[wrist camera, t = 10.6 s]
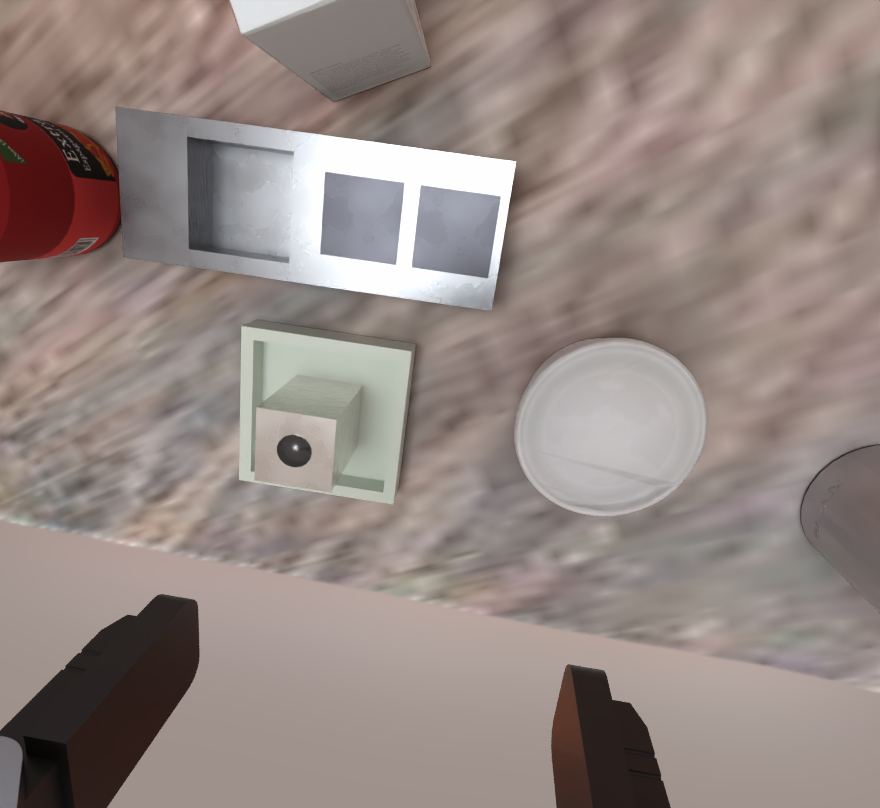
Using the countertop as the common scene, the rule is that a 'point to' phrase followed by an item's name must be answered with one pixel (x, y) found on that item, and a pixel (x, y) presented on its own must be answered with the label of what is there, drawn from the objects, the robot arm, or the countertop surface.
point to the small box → (337, 40)
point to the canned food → (53, 191)
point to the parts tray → (341, 359)
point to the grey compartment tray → (312, 208)
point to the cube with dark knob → (307, 432)
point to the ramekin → (609, 426)
